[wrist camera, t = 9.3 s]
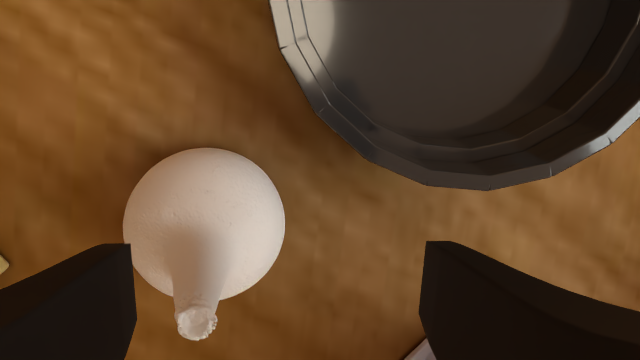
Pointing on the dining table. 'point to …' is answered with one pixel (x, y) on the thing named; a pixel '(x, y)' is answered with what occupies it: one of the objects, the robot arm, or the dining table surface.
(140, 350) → the dining table surface
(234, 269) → the garlic bulb
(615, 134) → the pan
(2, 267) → the candy box
